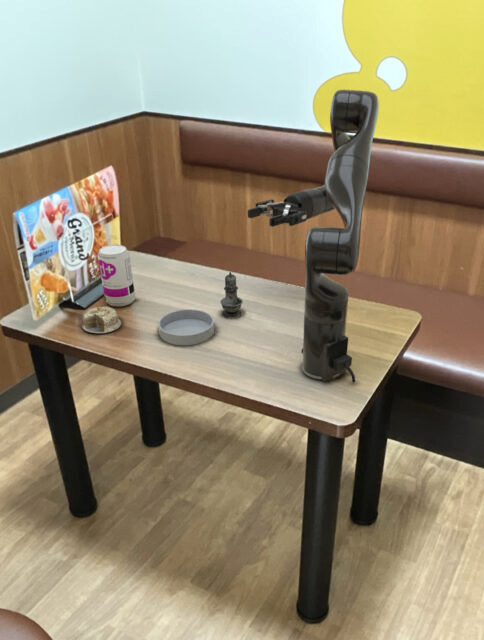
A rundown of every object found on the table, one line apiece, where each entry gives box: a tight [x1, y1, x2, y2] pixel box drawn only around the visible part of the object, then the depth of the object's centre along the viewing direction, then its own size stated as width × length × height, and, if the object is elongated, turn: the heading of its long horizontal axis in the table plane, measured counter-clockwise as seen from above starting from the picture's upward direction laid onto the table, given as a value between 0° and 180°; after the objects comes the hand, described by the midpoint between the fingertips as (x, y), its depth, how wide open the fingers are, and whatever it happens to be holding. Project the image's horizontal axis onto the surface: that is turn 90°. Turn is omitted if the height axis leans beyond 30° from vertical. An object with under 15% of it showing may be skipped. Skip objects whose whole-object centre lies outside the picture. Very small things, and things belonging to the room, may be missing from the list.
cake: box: [81, 306, 122, 334], centre depth 155 cm, size 10×10×5 cm
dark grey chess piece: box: [219, 271, 244, 319], centre depth 158 cm, size 6×6×12 cm
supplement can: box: [97, 244, 136, 308], centre depth 164 cm, size 8×8×15 cm
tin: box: [157, 308, 215, 346], centre depth 153 cm, size 14×14×3 cm
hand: (259, 218), depth 154 cm, fingers open, 8 cm apart
